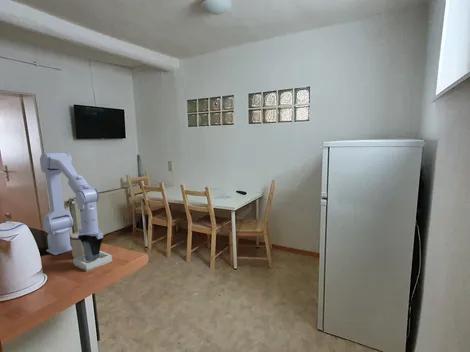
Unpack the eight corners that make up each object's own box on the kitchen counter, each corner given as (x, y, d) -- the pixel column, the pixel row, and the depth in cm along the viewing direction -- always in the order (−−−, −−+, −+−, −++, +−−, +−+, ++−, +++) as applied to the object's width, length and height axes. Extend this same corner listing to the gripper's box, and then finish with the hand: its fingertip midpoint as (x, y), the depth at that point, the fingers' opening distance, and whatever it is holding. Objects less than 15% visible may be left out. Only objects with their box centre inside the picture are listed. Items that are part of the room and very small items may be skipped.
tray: (73, 264, 103) (73, 258, 103) (98, 255, 111) (98, 250, 111) (86, 271, 98) (86, 264, 97) (112, 261, 106) (111, 255, 106)
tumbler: (82, 258, 104) (80, 241, 103) (95, 254, 108) (93, 237, 107) (89, 261, 101) (87, 244, 100) (102, 256, 105) (100, 239, 104)
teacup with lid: (92, 257, 110) (90, 230, 108) (68, 260, 108) (65, 232, 106) (100, 246, 121) (98, 222, 120) (79, 248, 120) (76, 223, 118)
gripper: (69, 219, 103) (72, 252, 105) (88, 225, 95) (91, 260, 97) (87, 215, 109) (90, 246, 111) (107, 220, 101) (110, 254, 103)
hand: (92, 252), depth 104 cm, fingers closed on tumbler, 5 cm apart
